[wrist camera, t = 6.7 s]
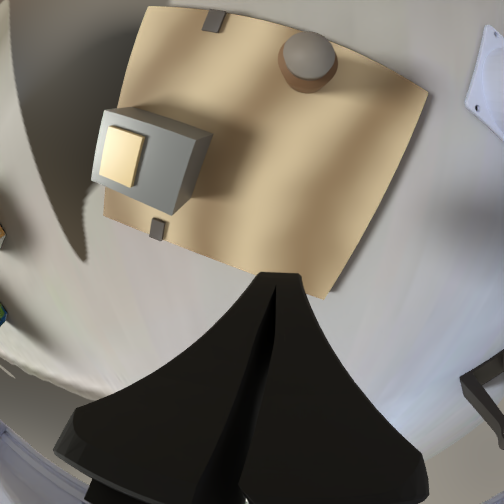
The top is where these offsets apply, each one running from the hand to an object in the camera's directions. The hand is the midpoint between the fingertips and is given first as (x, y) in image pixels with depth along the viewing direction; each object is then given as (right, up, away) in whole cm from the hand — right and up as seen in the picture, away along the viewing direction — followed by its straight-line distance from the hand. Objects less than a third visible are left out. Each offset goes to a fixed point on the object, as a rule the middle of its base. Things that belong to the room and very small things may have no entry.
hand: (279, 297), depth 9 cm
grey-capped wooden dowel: (+2, +11, +4) cm, 12 cm away
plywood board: (-1, +8, +7) cm, 11 cm away
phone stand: (+30, -14, +14) cm, 36 cm away
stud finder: (-7, +8, +7) cm, 13 cm away
